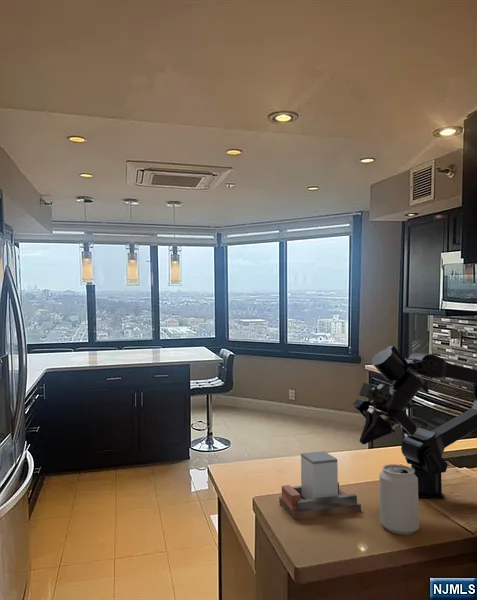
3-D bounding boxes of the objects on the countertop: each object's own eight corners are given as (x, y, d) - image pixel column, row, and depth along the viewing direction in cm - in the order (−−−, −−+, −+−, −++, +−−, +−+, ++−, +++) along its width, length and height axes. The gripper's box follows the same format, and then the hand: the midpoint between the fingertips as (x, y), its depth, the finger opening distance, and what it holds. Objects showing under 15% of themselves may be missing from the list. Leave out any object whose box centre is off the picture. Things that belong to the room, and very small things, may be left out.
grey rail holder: (340, 495, 107) (340, 476, 107) (361, 510, 98) (360, 490, 98) (279, 503, 102) (279, 483, 102) (294, 519, 94) (294, 498, 94)
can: (422, 538, 86) (421, 475, 86) (382, 534, 87) (381, 472, 88) (415, 521, 93) (413, 463, 94) (378, 518, 94) (377, 461, 95)
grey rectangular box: (324, 492, 104) (324, 451, 105) (338, 503, 98) (337, 459, 98) (301, 495, 102) (300, 453, 103) (313, 506, 96) (312, 461, 97)
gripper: (358, 367, 115) (321, 412, 112) (404, 375, 97) (361, 429, 94) (385, 396, 117) (349, 441, 113) (434, 409, 99) (393, 463, 95)
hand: (361, 443), depth 104 cm, fingers closed
